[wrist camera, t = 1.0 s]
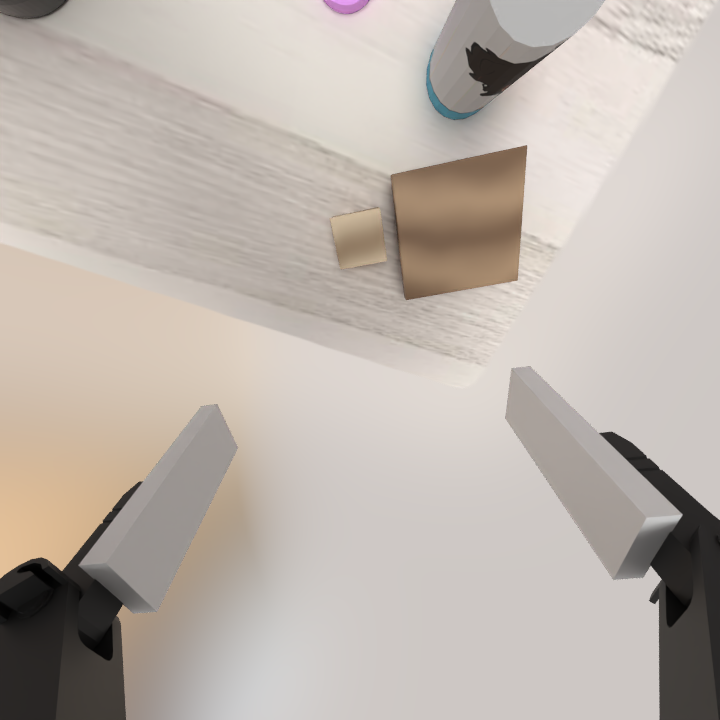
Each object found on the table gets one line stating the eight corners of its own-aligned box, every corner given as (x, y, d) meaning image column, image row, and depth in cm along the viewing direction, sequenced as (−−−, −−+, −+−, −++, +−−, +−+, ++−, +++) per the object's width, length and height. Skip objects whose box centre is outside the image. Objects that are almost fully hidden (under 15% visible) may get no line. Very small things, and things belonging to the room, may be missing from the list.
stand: (387, 178, 31) (392, 174, 27) (502, 153, 30) (527, 145, 26) (400, 288, 37) (406, 300, 32) (498, 270, 36) (517, 280, 31)
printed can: (487, 123, 29) (593, 54, 16) (420, 115, 29) (470, 39, 15) (509, 27, 26) (667, -162, 12) (434, 17, 25) (513, -185, 12)
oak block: (334, 216, 33) (329, 218, 29) (377, 207, 32) (379, 208, 28) (343, 261, 35) (340, 269, 31) (383, 253, 35) (387, 260, 30)
